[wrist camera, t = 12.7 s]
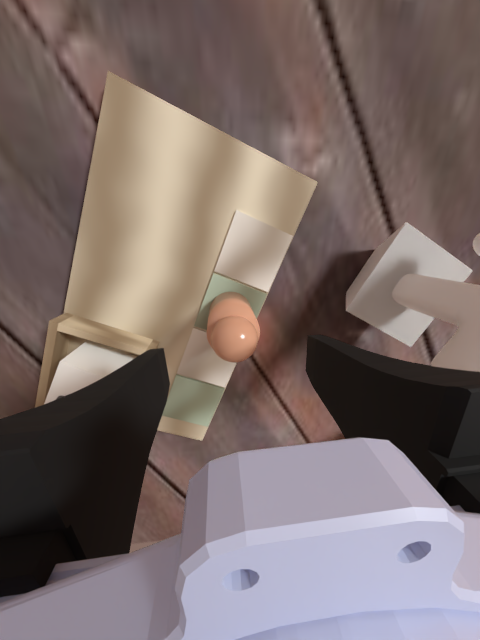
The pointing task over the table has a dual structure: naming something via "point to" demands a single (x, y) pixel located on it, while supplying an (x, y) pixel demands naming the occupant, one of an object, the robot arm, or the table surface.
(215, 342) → the pawn
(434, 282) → the figurine
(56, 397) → the die
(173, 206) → the game board
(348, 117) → the table surface
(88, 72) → the table surface
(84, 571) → the robot arm
